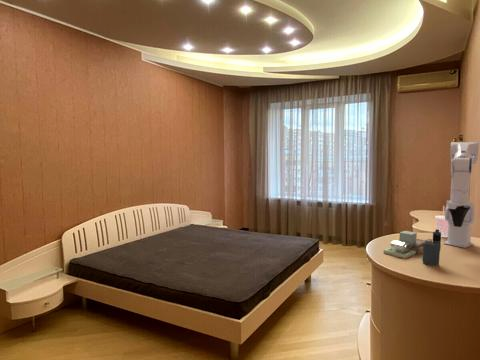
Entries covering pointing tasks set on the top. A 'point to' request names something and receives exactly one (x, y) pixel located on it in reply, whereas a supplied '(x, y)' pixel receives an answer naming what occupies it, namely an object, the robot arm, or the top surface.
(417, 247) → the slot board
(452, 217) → the robot arm
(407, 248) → the chip
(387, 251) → the chip tray
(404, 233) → the sage green cube
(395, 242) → the chip
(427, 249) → the vaping device
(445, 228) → the beverage cup
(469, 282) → the top surface
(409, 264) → the top surface
